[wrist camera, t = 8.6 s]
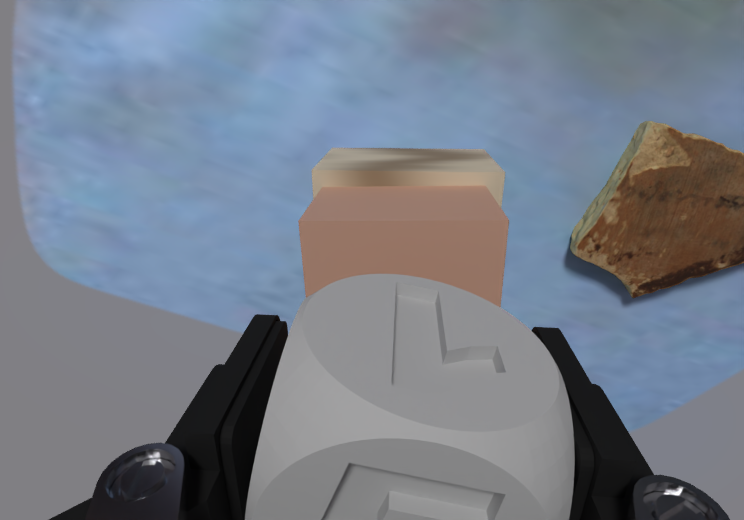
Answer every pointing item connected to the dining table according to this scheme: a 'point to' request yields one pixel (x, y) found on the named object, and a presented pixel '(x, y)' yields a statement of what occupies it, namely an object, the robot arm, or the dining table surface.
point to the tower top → (406, 236)
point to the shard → (666, 211)
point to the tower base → (408, 169)
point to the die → (412, 411)
